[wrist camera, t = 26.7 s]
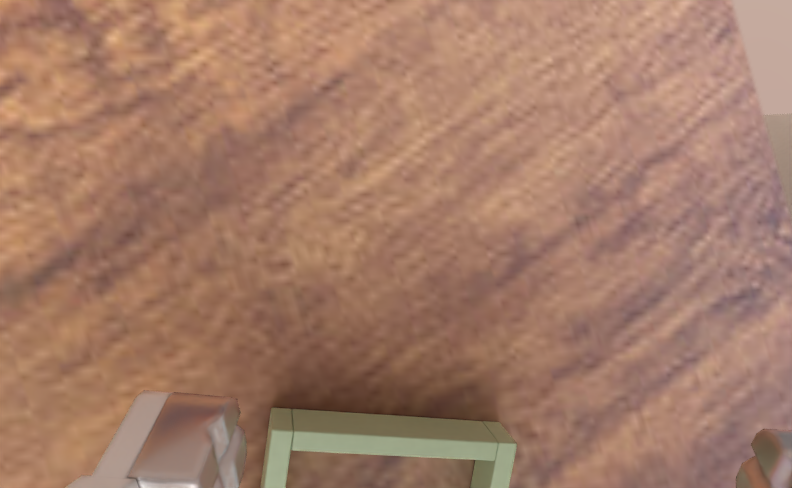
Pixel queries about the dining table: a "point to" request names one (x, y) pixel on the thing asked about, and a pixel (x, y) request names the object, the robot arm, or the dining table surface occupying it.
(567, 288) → the dining table surface
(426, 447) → the frame
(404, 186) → the dining table surface
